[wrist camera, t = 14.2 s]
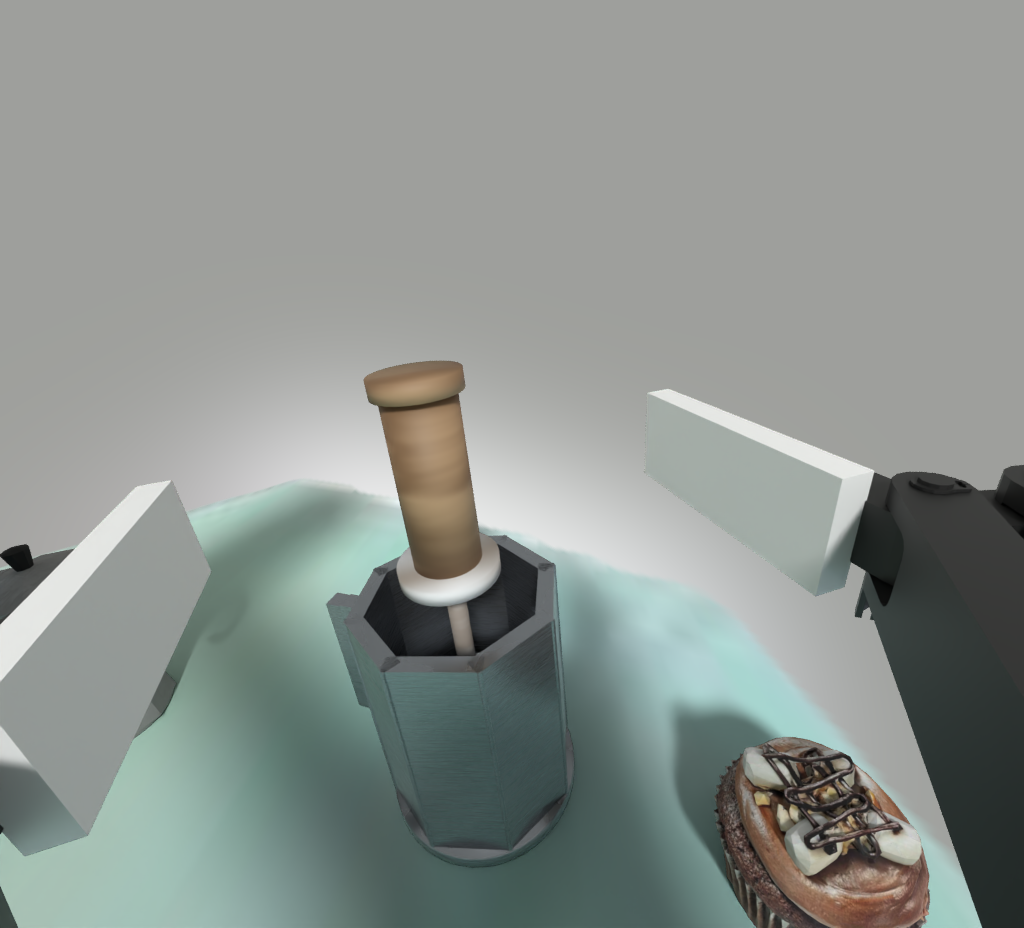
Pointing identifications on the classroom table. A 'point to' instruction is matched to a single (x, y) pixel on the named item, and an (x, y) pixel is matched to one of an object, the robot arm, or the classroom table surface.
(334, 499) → the classroom table surface
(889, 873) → the cupcake
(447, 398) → the plunger
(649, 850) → the classroom table surface
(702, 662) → the classroom table surface
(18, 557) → the coffeepot
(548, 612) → the press carafe
